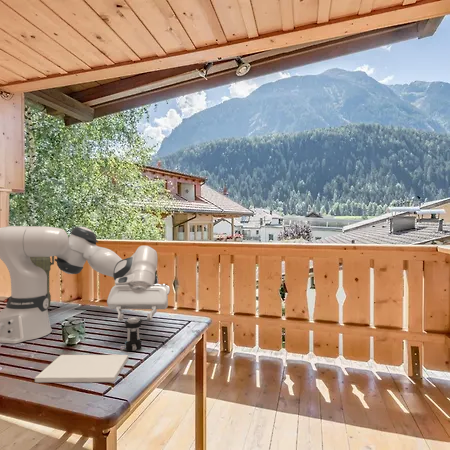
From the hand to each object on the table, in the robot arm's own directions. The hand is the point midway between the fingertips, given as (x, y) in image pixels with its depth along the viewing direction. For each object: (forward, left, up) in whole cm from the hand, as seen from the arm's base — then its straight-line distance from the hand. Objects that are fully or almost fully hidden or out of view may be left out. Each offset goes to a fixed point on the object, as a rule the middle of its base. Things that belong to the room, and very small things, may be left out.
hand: (134, 319), depth 107 cm
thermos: (-56, +47, -9) cm, 73 cm away
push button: (-1, -2, -9) cm, 9 cm away
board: (-10, -16, -9) cm, 21 cm away
